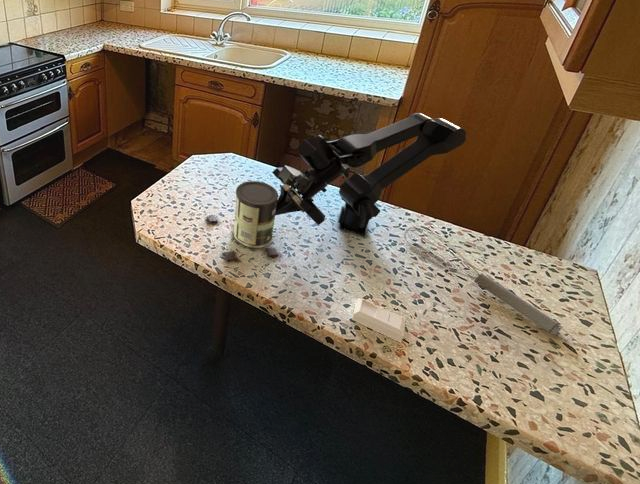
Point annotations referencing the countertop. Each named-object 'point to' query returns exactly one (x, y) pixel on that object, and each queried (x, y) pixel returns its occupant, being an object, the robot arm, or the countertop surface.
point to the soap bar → (379, 319)
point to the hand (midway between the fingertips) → (271, 214)
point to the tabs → (231, 255)
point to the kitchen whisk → (502, 293)
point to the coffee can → (255, 214)
